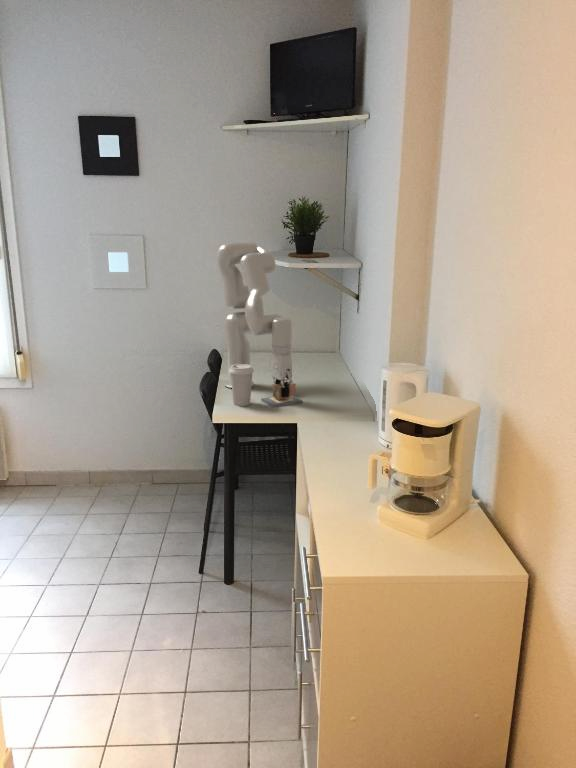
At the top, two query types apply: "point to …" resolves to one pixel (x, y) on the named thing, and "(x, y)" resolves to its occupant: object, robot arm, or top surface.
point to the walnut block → (279, 392)
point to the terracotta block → (292, 388)
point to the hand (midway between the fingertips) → (281, 394)
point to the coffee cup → (241, 383)
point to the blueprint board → (281, 401)
